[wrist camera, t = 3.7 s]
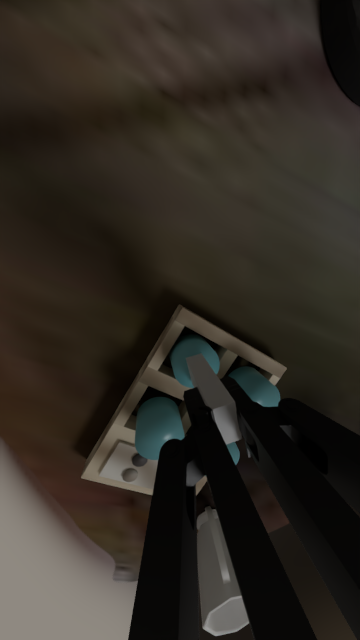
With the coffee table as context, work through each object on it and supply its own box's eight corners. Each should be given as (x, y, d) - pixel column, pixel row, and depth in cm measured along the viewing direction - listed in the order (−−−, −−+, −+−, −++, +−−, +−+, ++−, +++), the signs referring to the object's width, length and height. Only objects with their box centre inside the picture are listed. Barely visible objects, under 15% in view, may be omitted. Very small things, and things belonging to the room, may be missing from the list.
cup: (190, 542, 28) (207, 645, 20) (179, 497, 25) (193, 596, 17) (233, 526, 29) (265, 619, 21) (227, 481, 26) (261, 569, 18)
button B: (238, 359, 19) (254, 374, 16) (268, 376, 20) (288, 392, 17) (216, 393, 19) (227, 413, 17) (246, 407, 21) (262, 428, 18)
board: (179, 304, 18) (183, 308, 16) (275, 360, 22) (290, 370, 20) (86, 459, 21) (78, 483, 19) (186, 486, 25) (191, 509, 22)
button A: (183, 326, 19) (189, 336, 16) (216, 345, 20) (228, 357, 17) (161, 361, 19) (164, 377, 16) (195, 377, 20) (203, 394, 17)
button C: (150, 390, 18) (150, 412, 15) (186, 405, 19) (193, 428, 16) (128, 424, 19) (125, 452, 16) (165, 437, 20) (168, 465, 17)
